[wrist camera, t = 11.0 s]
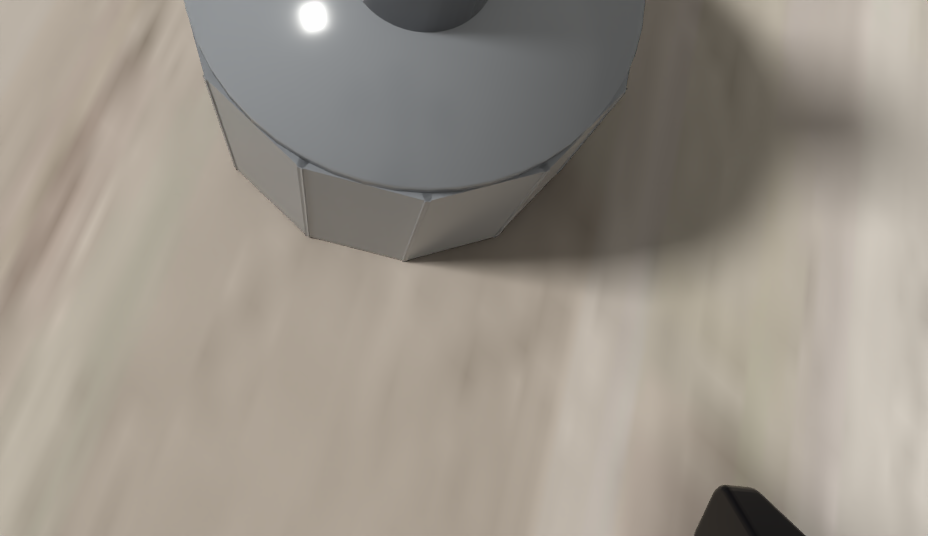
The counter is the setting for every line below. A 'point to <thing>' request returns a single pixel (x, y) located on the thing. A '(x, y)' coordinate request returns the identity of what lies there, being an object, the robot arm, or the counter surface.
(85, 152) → the counter surface
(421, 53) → the slate cloche
